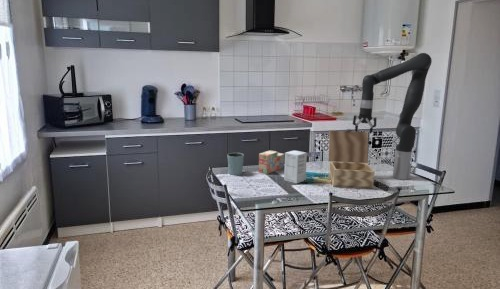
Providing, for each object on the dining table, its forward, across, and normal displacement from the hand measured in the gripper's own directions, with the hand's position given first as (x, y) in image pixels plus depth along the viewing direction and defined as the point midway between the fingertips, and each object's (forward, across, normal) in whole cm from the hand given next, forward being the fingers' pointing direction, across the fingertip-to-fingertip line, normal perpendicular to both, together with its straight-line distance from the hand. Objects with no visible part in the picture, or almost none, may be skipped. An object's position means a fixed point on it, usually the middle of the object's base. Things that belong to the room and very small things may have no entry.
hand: (363, 132), depth 242 cm
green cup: (+28, +66, +48) cm, 86 cm away
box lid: (+6, +4, +19) cm, 21 cm away
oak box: (+26, 0, +29) cm, 39 cm away
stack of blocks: (+27, +50, +28) cm, 63 cm away
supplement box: (+27, +30, +42) cm, 58 cm away
